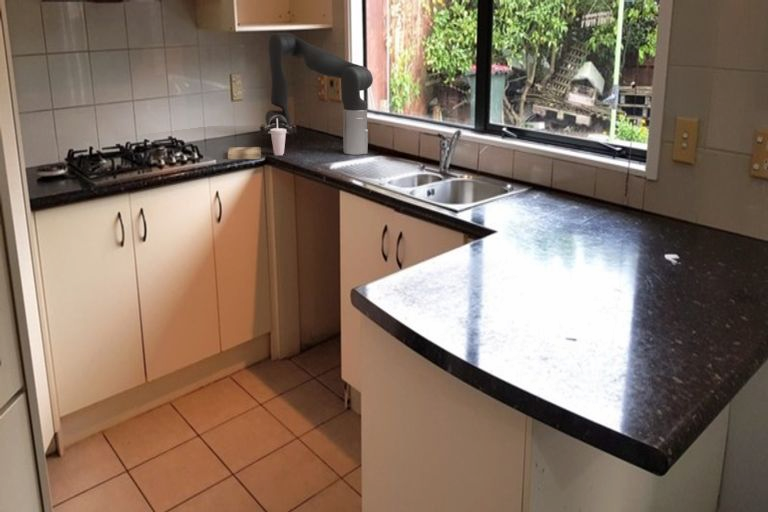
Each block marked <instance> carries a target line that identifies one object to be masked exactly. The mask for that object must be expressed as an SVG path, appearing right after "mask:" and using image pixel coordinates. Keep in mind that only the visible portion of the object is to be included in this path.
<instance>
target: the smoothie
mask: <svg viewBox="0 0 768 512" xmlns="http://www.w3.org/2000/svg"><path fill="white" fill-rule="evenodd" d="M276 122H277V128H274V129H270V133H271V134H270V136H271V142H272V150H273V155H275V156H284V155H283V154H285V146H286V145H285V144H286V136H287V134H286V132H287V130H286V129H283V128H278V118H276Z"/></svg>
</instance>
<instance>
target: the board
mask: <svg viewBox="0 0 768 512" xmlns="http://www.w3.org/2000/svg"><path fill="white" fill-rule="evenodd" d="M261 150H262V149H261V147H259V146H249V147H248V146H240V147H239V146H237V147H236V146H235V147H233V146H231V147H229V148H228V151H227V152H228V153H227V160H261V157H262V155H261V154H262V151H261Z"/></svg>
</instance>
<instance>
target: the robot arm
mask: <svg viewBox="0 0 768 512" xmlns="http://www.w3.org/2000/svg"><path fill="white" fill-rule="evenodd" d="M268 53H269V55H268V56H269V65H270V66H269V67H270V75H271V77H270V78H271V90H270V104H272V105H273V106H275V107H279V108H280V109H281V110H275V109H271V110H268V111H267V112H266V114H265V123H266V125H267V126H266V125H264V124H260V127H259V131H260V132H259V133H260V134H261V135H262V134H264V135H266V136H269V135H271V133H270V129H274V128H277V122H276V118H278V128H283V129H286V130H287V132H286V135H287V134H288V135H292V134H297V125H296V124H291V116H290V111H289V106H288V95H289V86H288V85H289V84H288V81H287V78H286V76H285V73H284V71H283V65H282V64H283V63H282V61H283V57H294V58H298V59H300V60H302V61H303V63H304V65H305V66H306V67H307V68H308V69H309V70H310V71H313V72H315V73H317V74H319V75H322V76H327V77H331V78H335V79H336V78H337V79H340V89H341V91H340V92H341V102H342V104H343V153H344V154H346V155H353V156H355V155H357V156H358V155H367V154H368V143H369V142H368V139H369V138H368V137H369V136H368V133H369V130H368V102H367V101H366V100H364V99H362V98H361V92H362V91H365V90H367V89H370V87H371V86H372V84H373V80H374V79H373V78H374V77H373V74H372V72H371V71H370V70H369V68H367V67H365V66H364V65H360V64H357V63H354V62H353V63H352V62H350V61H347V60H345V59H343V58H342V57H340V56H338V55H335V54H333V53H331V52H329V51H327V50H325V49H324V48H321V47H318V46H316V45H313V44H310V43H308V42H306V41H304V40H303V39H301V38H300V37H298V36H296V34H293V33H290V32H281V33H279V32H278V33H277V32H276V33H273V34H271V36H270V37H269V40H268ZM290 125H291V126H290Z"/></svg>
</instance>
